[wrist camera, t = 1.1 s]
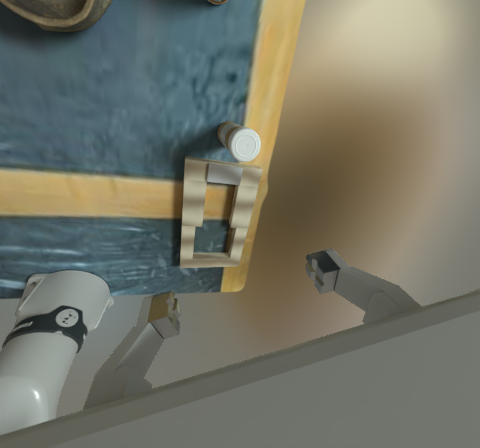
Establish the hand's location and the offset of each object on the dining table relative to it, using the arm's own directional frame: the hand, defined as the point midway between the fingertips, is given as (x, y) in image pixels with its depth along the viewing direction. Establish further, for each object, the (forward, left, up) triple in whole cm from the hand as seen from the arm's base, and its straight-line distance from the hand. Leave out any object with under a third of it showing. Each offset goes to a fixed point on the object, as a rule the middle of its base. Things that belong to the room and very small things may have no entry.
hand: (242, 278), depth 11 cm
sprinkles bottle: (+7, -1, -34) cm, 34 cm away
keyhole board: (-9, -13, -33) cm, 37 cm away
